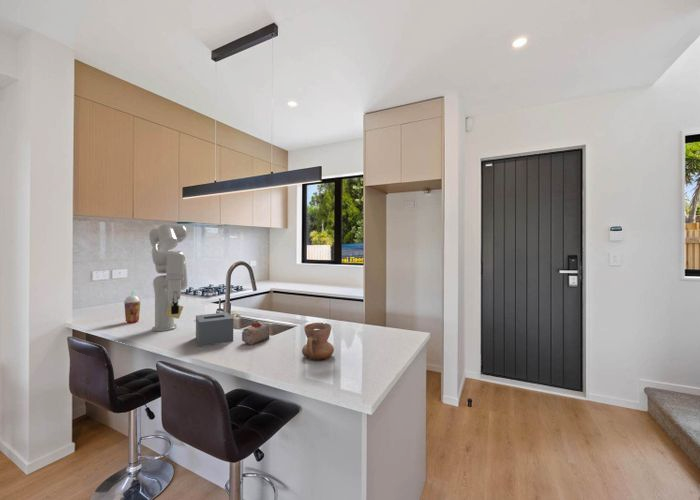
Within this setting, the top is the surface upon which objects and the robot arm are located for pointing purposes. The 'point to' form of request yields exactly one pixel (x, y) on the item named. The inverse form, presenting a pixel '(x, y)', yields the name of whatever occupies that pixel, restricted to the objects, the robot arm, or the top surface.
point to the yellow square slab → (174, 314)
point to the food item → (255, 333)
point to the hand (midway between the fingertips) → (174, 313)
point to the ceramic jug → (317, 341)
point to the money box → (214, 328)
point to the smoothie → (132, 308)
